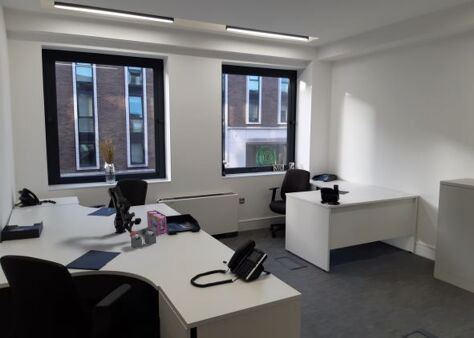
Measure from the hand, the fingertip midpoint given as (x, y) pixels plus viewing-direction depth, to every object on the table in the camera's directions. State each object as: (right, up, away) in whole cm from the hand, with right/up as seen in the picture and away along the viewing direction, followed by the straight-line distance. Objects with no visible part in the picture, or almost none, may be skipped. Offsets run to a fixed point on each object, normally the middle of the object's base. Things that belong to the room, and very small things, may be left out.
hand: (130, 232), depth 264 cm
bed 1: (+7, -8, -9) cm, 14 cm away
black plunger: (+13, -2, -1) cm, 13 cm away
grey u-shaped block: (+15, -7, -2) cm, 16 cm away
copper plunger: (+6, -3, -8) cm, 10 cm away
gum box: (+12, -3, +29) cm, 32 cm away
